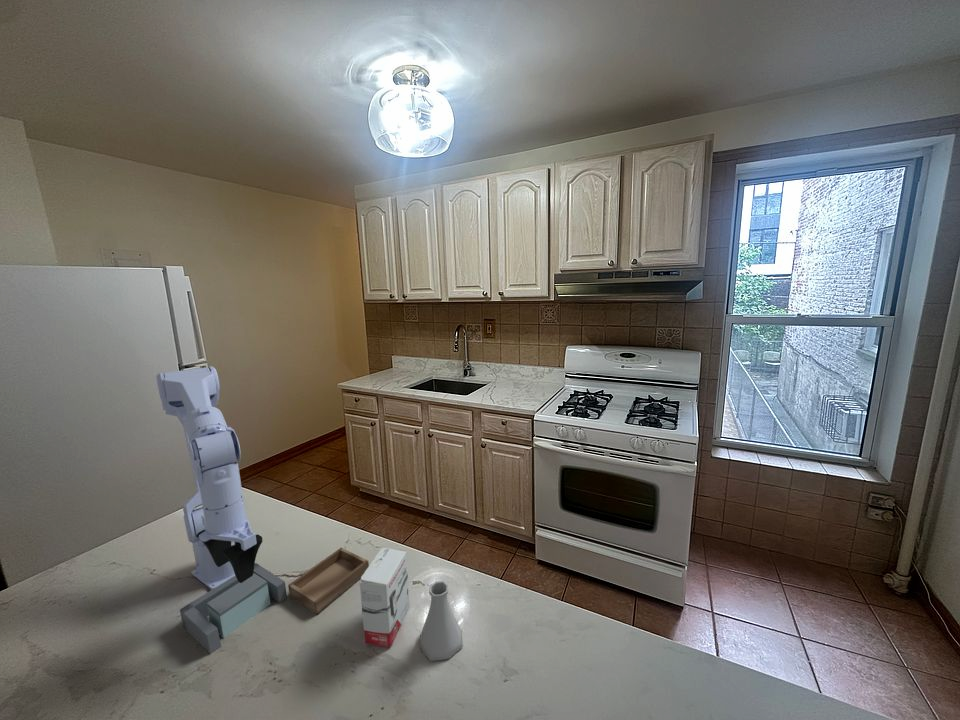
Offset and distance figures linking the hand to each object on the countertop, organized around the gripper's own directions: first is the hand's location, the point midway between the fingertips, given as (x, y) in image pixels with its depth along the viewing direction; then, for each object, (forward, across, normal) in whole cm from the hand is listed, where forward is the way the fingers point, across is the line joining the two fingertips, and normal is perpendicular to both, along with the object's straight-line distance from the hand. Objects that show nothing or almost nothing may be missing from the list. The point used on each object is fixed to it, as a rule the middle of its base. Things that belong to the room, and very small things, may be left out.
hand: (234, 570), depth 65 cm
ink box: (+9, +25, +12) cm, 29 cm away
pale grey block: (+9, 0, 0) cm, 9 cm away
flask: (+9, +35, +14) cm, 39 cm away
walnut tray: (+9, +8, +13) cm, 18 cm away
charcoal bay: (+9, -2, 0) cm, 9 cm away
